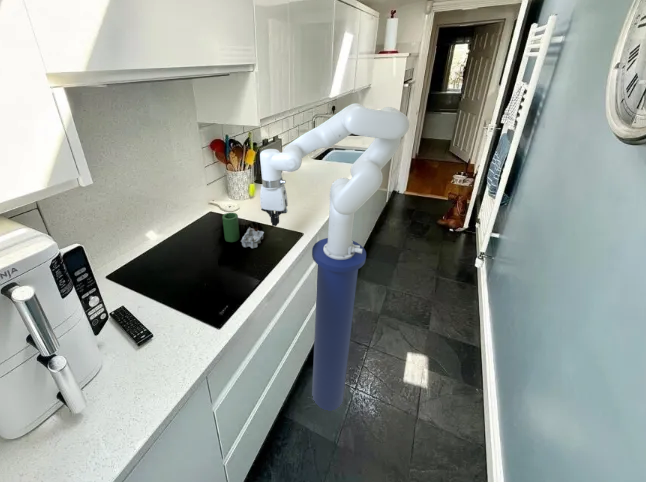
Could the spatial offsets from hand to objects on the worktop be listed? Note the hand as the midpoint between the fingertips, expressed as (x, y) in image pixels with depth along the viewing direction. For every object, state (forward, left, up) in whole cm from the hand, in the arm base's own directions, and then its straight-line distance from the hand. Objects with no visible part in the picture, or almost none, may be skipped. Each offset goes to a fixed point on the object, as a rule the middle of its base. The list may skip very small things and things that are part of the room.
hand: (275, 224), depth 124 cm
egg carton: (+10, +1, -10) cm, 14 cm away
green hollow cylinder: (+20, +1, -10) cm, 22 cm away
